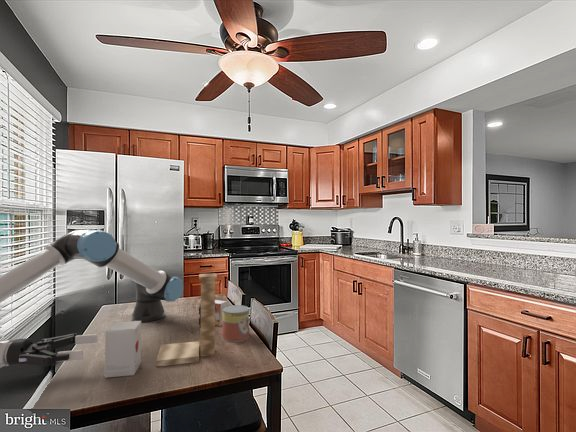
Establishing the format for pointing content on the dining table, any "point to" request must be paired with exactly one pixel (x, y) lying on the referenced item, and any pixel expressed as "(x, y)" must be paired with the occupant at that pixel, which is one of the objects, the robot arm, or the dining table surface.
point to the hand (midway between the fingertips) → (90, 345)
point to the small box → (219, 311)
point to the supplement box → (122, 348)
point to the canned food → (235, 323)
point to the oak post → (207, 313)
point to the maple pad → (178, 353)
